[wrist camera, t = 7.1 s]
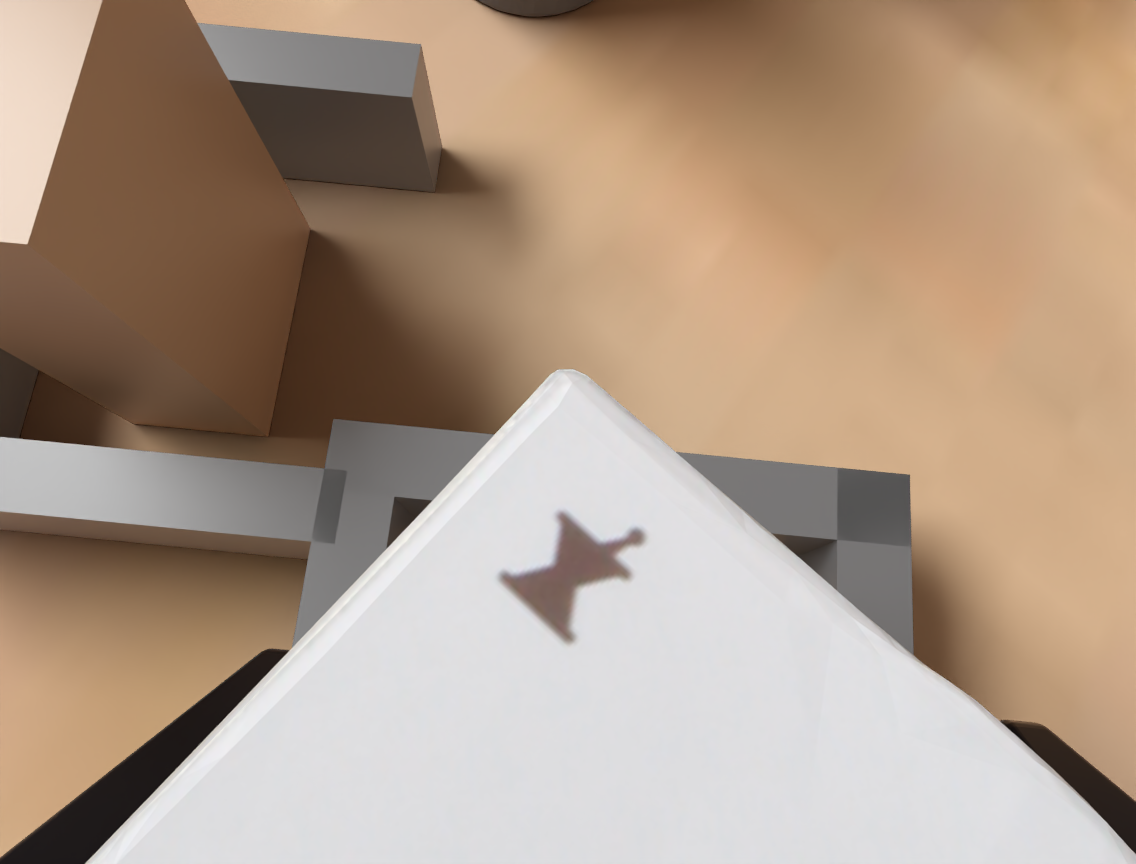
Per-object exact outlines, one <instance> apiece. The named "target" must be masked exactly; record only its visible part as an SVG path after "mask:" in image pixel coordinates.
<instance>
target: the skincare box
mask: <svg viewBox="0 0 1136 864" xmlns="http://www.w3.org/2000/svg"><path fill="white" fill-rule="evenodd" d="M85 864H1136V854H1135V853H1134V852H1133V851H1132V850H1131V849H1130V848H1129V847H1128V846H1127V845H1126V843H1125V842H1124V841H1123V840H1122V839H1121V838H1120V837H1119V836H1118V835H1117V833H1116V832H1115V831H1114V830H1113V829H1112V828H1111V827H1110V826H1109V825H1108V823H1107V822H1106V821H1105V820H1104V819H1103V818H1102V817H1101V816H1100V815H1099V814H1098V813H1097V812H1096V811H1095V810H1094V809H1093V808H1092V807H1091V806H1090V805H1089V804H1088V803H1087V801H1086V800H1085V799H1084V798H1083V797H1082V796H1080V795H1079V794H1078V793H1077V792H1076V791H1075V790H1074V789H1073V788H1072V787H1071V786H1070V785H1069V784H1068V783H1067V782H1066V781H1065V780H1064V779H1063V778H1062V777H1061V776H1060V775H1059V774H1058V773H1057V772H1056V771H1055V770H1054V769H1052V768H1051V767H1050V766H1049V765H1048V764H1047V763H1046V762H1045V761H1044V760H1043V759H1041V758H1040V757H1039V756H1038V755H1037V754H1036V753H1035V752H1034V751H1033V750H1031V749H1030V748H1029V747H1028V746H1027V745H1026V744H1025V743H1024V742H1023V741H1022V740H1020V739H1019V738H1018V737H1017V736H1016V735H1015V734H1014V733H1013V732H1011V731H1010V730H1009V729H1008V728H1007V727H1006V726H1005V725H1003V724H1002V723H1001V722H1000V721H999V720H998V719H997V718H995V717H994V716H993V715H992V714H991V713H990V712H989V711H987V710H986V709H985V708H984V707H983V706H982V705H981V704H979V703H978V702H977V701H976V700H975V699H973V698H972V697H970V696H969V695H968V694H966V693H965V692H963V691H962V690H961V689H959V688H958V687H956V686H955V685H954V684H952V683H951V682H949V681H948V680H946V679H945V678H944V677H942V676H941V675H939V674H938V673H936V672H935V671H933V670H932V669H930V668H929V667H928V666H926V665H925V664H923V663H922V662H921V661H920V660H919V659H917V658H916V657H915V656H914V655H913V654H911V653H910V652H909V651H908V650H907V649H905V648H904V647H903V646H902V645H901V644H899V643H898V642H897V641H896V640H895V639H893V638H892V637H891V636H890V635H889V634H887V633H886V632H885V631H884V630H883V629H881V628H880V627H879V626H878V625H876V624H875V623H874V622H873V621H872V620H870V619H869V618H868V617H867V616H866V615H864V614H863V613H862V612H861V611H860V610H858V609H857V608H856V607H855V606H854V605H853V604H852V603H850V602H849V601H848V600H847V599H846V598H845V597H844V596H842V595H841V594H840V593H839V592H838V591H837V590H836V589H834V588H833V587H832V586H831V585H830V584H829V583H828V582H826V581H825V580H824V579H823V578H822V577H821V576H820V575H818V574H817V573H816V572H815V571H814V570H813V569H812V568H810V567H809V566H808V565H807V564H806V563H805V562H804V561H802V560H801V559H800V558H799V557H798V556H797V555H796V554H794V553H793V552H792V551H791V550H790V549H789V548H787V547H786V546H785V545H784V544H783V543H782V542H781V541H779V540H778V539H777V538H776V537H775V536H774V535H772V534H771V533H770V532H769V531H768V530H767V529H765V528H764V527H763V526H762V525H761V524H760V523H758V522H757V521H756V520H755V519H754V518H752V517H751V516H750V515H749V514H748V513H747V512H745V511H744V510H743V509H742V508H741V507H739V506H738V505H737V504H736V503H735V502H734V501H732V500H731V499H730V498H729V497H728V496H727V495H725V494H724V493H723V492H722V491H721V490H719V489H718V488H717V487H716V486H715V485H714V484H712V483H711V482H710V481H709V480H708V479H706V478H705V477H704V476H703V475H702V474H701V473H699V472H698V471H697V470H696V469H695V468H693V467H692V466H691V465H690V464H689V463H688V462H687V461H685V460H684V459H683V458H682V457H681V456H680V455H678V454H677V453H676V452H675V451H674V450H673V449H672V448H670V447H669V446H668V445H667V444H666V443H665V442H664V441H662V440H661V439H660V438H659V437H658V436H657V435H655V434H654V433H653V432H652V431H651V430H650V429H649V428H647V427H646V426H645V425H644V424H643V423H642V422H641V421H639V420H638V419H637V418H636V417H635V416H634V415H632V414H631V413H630V412H629V411H628V410H627V409H625V408H624V407H623V406H622V405H621V404H620V403H618V402H617V401H616V400H615V399H614V398H613V397H611V396H610V395H609V394H608V393H607V392H606V391H604V390H603V389H602V388H601V387H600V386H599V385H597V384H596V383H595V382H594V381H593V380H592V379H590V378H589V377H588V376H587V375H585V374H583V373H581V372H578V371H576V370H574V369H558V370H557V371H555V372H553V373H552V374H550V375H549V376H548V378H547V379H546V380H545V381H544V382H543V383H542V384H541V385H540V386H539V387H538V389H537V390H536V391H535V392H534V393H533V394H532V395H531V396H530V397H529V398H528V399H527V401H526V402H525V403H524V404H523V405H522V406H521V407H520V408H519V409H518V410H517V411H516V412H515V413H514V414H513V416H512V417H511V418H510V419H509V420H508V421H507V422H506V423H505V424H504V425H503V426H502V427H501V428H500V429H499V430H498V432H497V433H496V434H495V435H494V436H493V437H492V438H491V439H490V440H489V441H488V442H487V443H486V444H485V445H484V446H483V447H482V449H481V450H480V451H479V452H478V453H477V454H476V455H475V456H474V457H473V458H472V459H471V460H470V461H469V462H468V463H467V465H466V466H465V467H464V468H463V469H462V470H461V471H460V472H459V473H458V474H457V475H456V476H455V477H454V478H453V479H452V481H451V482H450V483H449V484H448V485H447V486H446V487H445V488H444V489H443V490H442V491H441V492H440V493H439V494H438V495H437V497H436V498H435V499H434V500H433V501H432V502H431V503H430V504H429V505H428V506H427V507H426V508H425V509H424V510H423V511H422V512H421V513H420V514H419V516H418V517H417V518H416V519H415V520H414V521H413V522H412V523H411V524H410V525H409V526H408V527H407V528H406V529H405V530H404V531H403V532H402V533H401V534H400V535H399V536H398V538H397V539H396V540H395V541H394V542H393V543H392V544H391V545H390V546H389V547H388V548H387V549H386V550H385V551H384V552H383V553H382V554H381V555H380V556H379V557H378V559H377V560H376V561H375V562H374V563H373V564H372V565H371V566H370V567H369V568H368V569H367V570H366V571H365V572H364V573H363V574H362V575H361V576H360V577H359V578H358V579H357V581H356V582H355V583H354V584H353V585H352V586H351V587H350V588H349V589H348V590H347V591H346V592H345V593H344V594H343V595H342V596H341V597H340V598H339V599H338V600H337V601H336V603H335V604H334V605H333V606H332V607H331V608H330V609H329V610H328V611H327V612H326V613H325V614H324V615H323V616H322V617H321V618H320V619H319V620H318V621H317V622H316V624H315V625H314V626H313V627H312V628H311V629H310V630H309V631H308V632H307V633H306V634H305V635H304V636H303V637H302V638H301V639H300V640H299V641H298V642H297V643H296V644H295V646H294V647H293V648H292V649H291V650H290V651H289V652H288V653H287V654H286V655H285V656H284V657H283V658H282V659H281V660H280V661H279V662H278V663H277V664H276V665H275V666H274V667H273V669H272V670H271V671H270V672H269V673H268V674H267V675H266V676H265V677H264V678H263V679H262V680H261V681H260V682H259V683H258V684H257V685H256V686H255V687H254V688H253V689H252V690H251V691H250V693H249V694H248V695H247V696H246V697H245V698H244V699H243V700H242V701H241V702H240V703H239V704H238V705H237V706H236V707H235V708H234V709H233V710H232V711H231V712H230V713H229V714H228V715H227V717H226V718H225V719H224V720H223V721H222V722H221V723H220V724H219V725H218V726H217V727H216V728H215V729H214V730H213V731H212V732H211V733H210V734H209V735H208V736H207V737H206V738H205V739H204V741H203V742H202V743H201V744H200V745H199V746H198V747H197V748H196V749H195V750H194V751H193V752H192V753H191V754H190V755H189V756H188V757H187V758H186V759H185V760H184V761H183V762H182V763H181V765H180V766H179V767H178V768H177V769H176V770H175V771H174V772H173V773H172V774H171V775H170V776H169V777H168V778H167V779H166V780H165V781H164V782H163V783H162V784H161V785H160V786H159V788H158V789H157V790H156V791H155V792H154V793H153V794H152V795H151V796H150V797H149V798H148V799H147V800H146V801H145V802H144V803H143V804H142V805H141V806H140V807H139V808H138V809H137V810H136V811H135V812H134V813H133V814H132V816H131V817H130V818H129V819H128V820H127V821H126V822H125V823H124V824H123V825H122V826H121V827H120V828H119V829H118V830H117V831H116V832H115V833H114V834H113V835H112V836H111V837H110V838H109V839H108V840H107V841H106V842H105V843H104V845H103V846H102V847H101V848H100V849H99V850H98V851H97V852H96V853H95V854H94V855H93V856H92V857H91V858H90V859H89V860H88V861H87V862H86V863H85Z"/></svg>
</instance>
